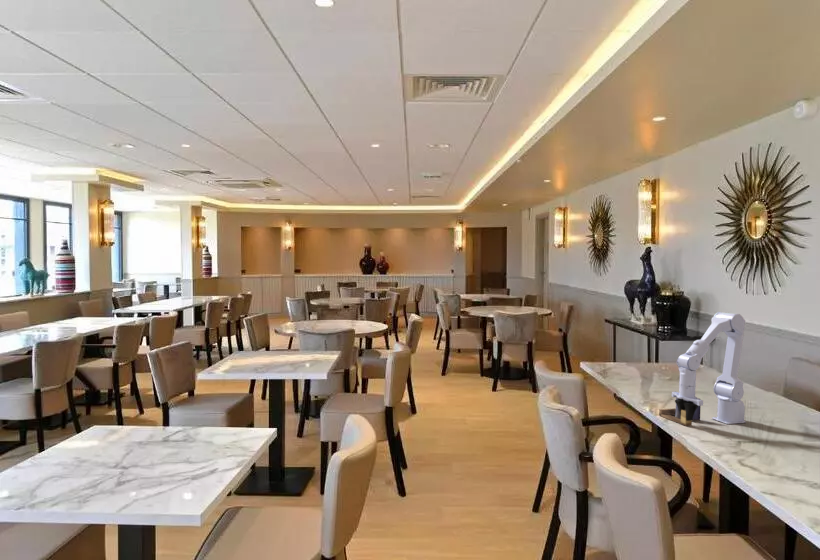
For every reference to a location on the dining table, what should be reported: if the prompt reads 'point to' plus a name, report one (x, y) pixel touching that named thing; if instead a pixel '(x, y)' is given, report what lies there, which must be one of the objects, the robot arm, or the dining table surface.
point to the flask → (695, 416)
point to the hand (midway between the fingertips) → (686, 419)
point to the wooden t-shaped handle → (669, 412)
